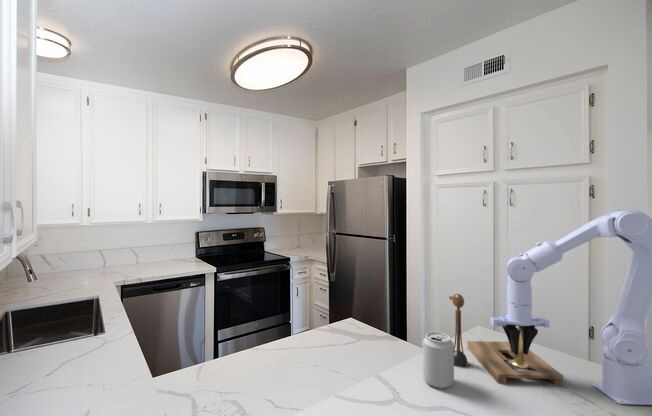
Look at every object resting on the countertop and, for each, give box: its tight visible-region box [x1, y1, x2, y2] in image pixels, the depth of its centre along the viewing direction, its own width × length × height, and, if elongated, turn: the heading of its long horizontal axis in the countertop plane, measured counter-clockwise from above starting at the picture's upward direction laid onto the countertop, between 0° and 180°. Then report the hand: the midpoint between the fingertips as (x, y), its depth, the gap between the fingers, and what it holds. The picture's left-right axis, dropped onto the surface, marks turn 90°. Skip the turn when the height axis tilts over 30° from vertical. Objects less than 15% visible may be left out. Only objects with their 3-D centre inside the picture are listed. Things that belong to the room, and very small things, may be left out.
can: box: [422, 331, 455, 389], centre depth 82 cm, size 8×8×12 cm
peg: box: [510, 326, 529, 371], centre depth 86 cm, size 4×4×10 cm
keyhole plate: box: [466, 340, 564, 386], centre depth 91 cm, size 16×20×2 cm
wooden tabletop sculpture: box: [448, 293, 468, 368], centre depth 92 cm, size 6×5×20 cm
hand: (519, 352), depth 86 cm, fingers closed on peg, 2 cm apart
